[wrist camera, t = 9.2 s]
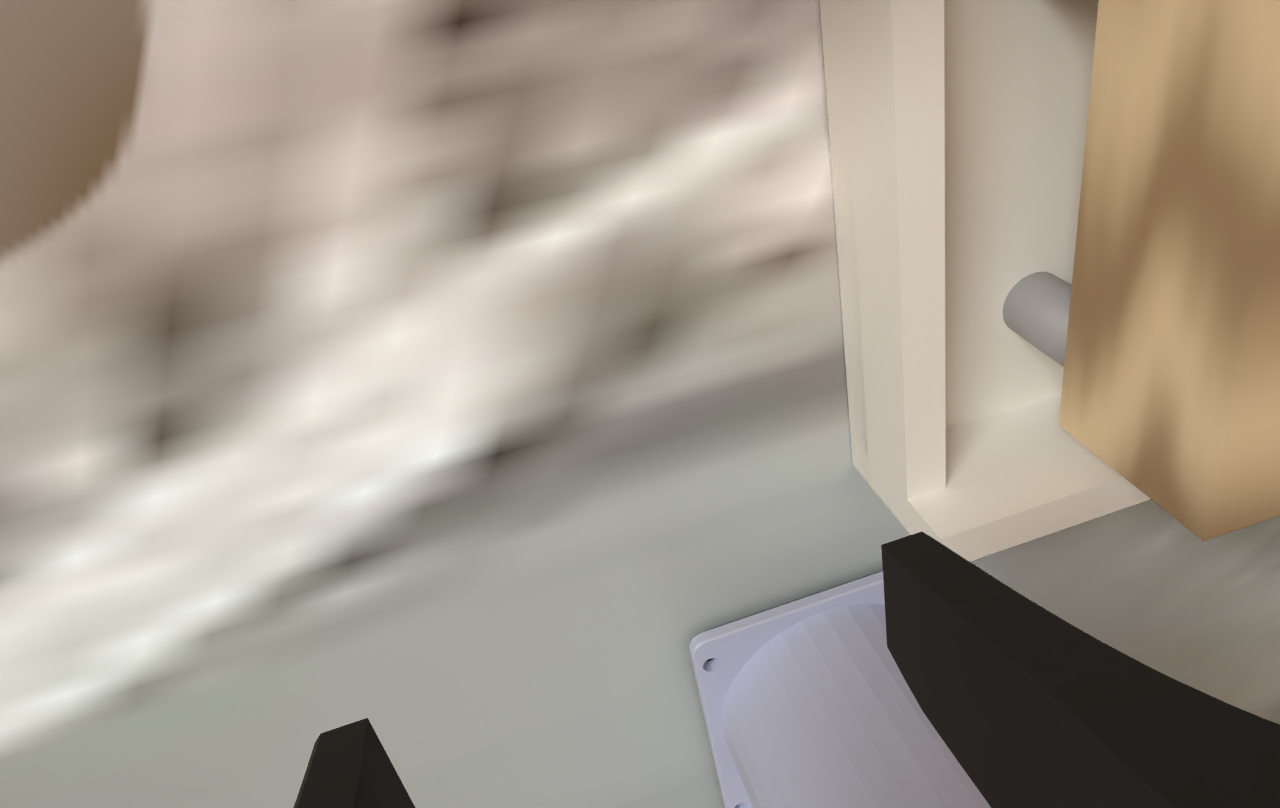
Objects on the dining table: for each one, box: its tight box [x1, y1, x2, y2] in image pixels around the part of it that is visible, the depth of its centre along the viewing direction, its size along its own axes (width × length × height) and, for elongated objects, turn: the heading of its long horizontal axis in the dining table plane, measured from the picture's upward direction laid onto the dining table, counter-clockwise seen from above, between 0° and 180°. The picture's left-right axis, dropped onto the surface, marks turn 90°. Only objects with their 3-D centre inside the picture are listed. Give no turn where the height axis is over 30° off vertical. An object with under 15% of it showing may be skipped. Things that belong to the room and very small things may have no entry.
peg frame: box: [819, 0, 1150, 562], centre depth 19 cm, size 16×11×4 cm
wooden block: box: [1059, 0, 1280, 541], centre depth 17 cm, size 12×4×4 cm, turn 10°
